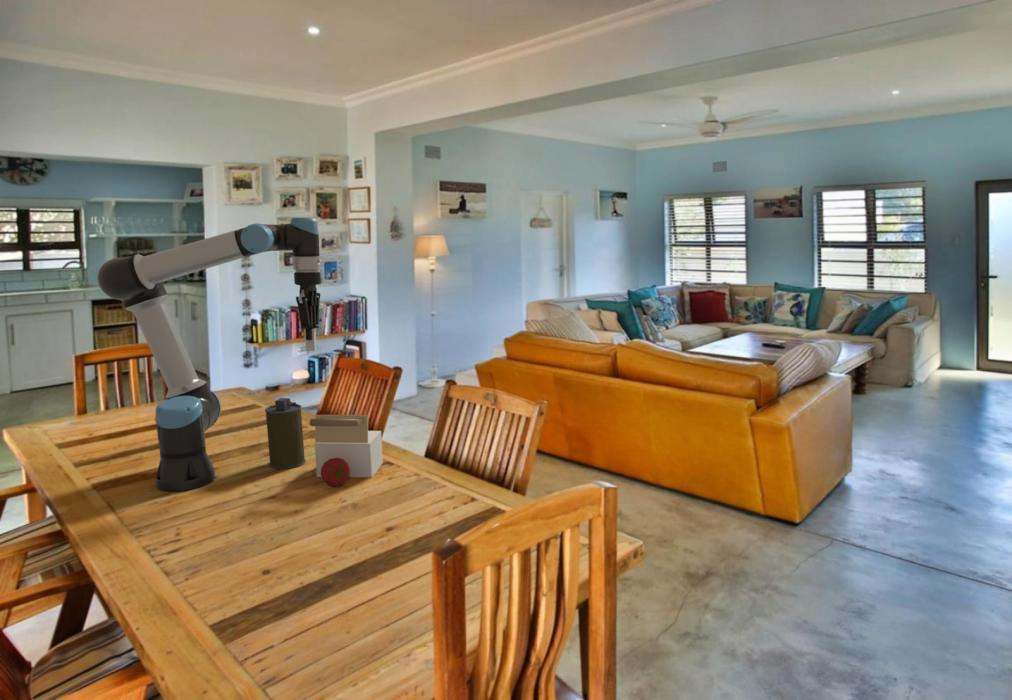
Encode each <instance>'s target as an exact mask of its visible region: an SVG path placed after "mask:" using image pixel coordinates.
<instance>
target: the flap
mask: <svg viewBox="0 0 1012 700" xmlns="http://www.w3.org/2000/svg"><path fill="white" fill-rule="evenodd" d="M314 416H315V417H314V418H310V419H309V426H310V427H314V429H315V431H314V432H315V434H314V435H315V436H314V437H315V441H314V444H315V443H368V431H369V414H315V415H314Z"/></svg>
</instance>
